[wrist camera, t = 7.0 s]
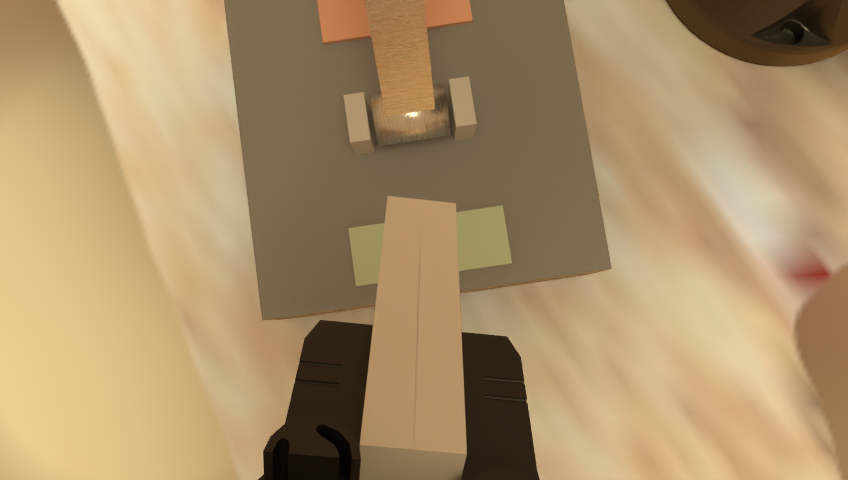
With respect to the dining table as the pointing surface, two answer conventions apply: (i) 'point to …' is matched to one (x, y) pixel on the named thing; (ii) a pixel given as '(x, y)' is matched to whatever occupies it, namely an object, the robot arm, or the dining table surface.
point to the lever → (404, 74)
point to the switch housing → (410, 148)
